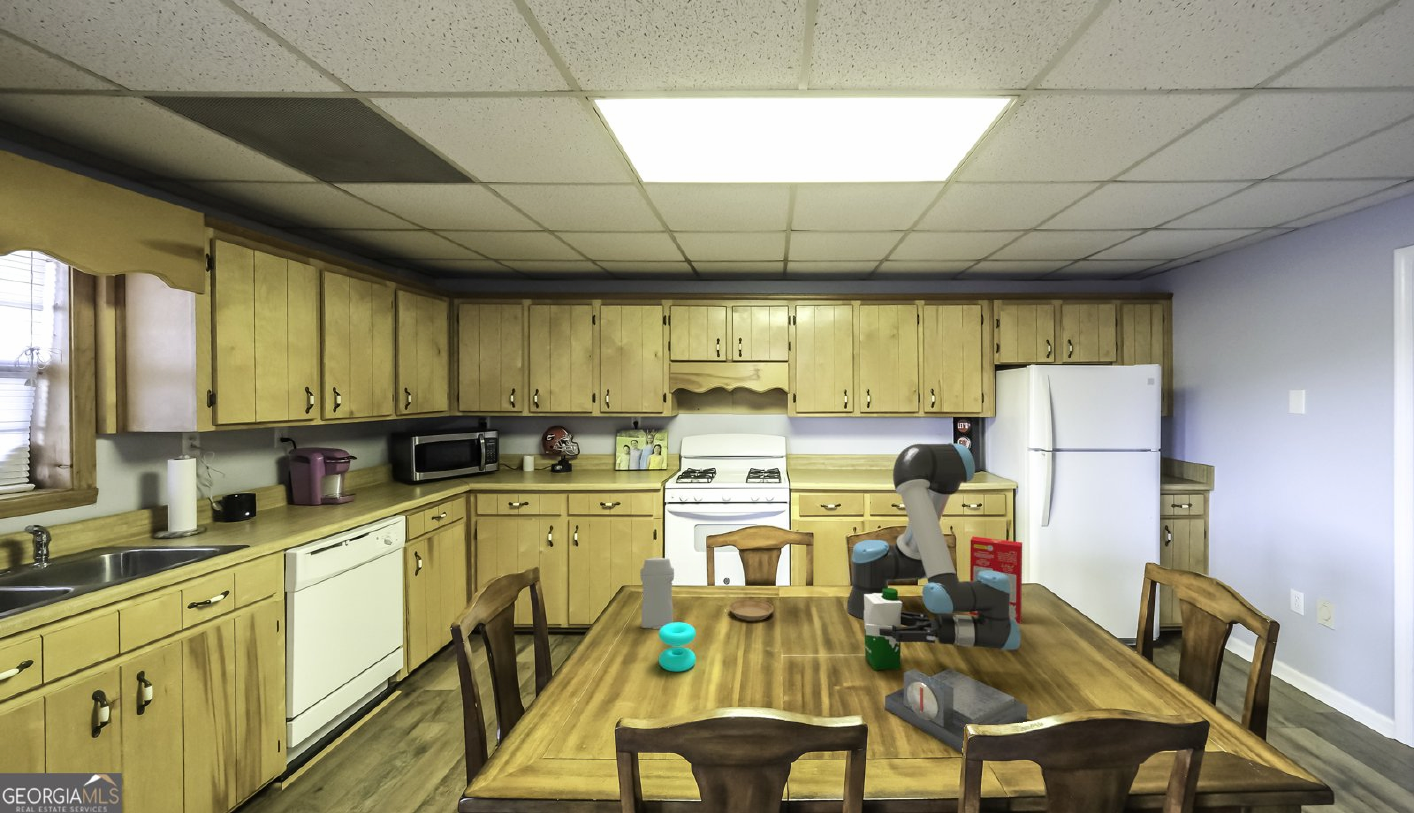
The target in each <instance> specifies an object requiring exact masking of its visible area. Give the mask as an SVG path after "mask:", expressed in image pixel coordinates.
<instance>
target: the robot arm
mask: <svg viewBox="0 0 1414 813" xmlns="http://www.w3.org/2000/svg"><path fill="white" fill-rule="evenodd" d="M975 473H976V466H975V459H974V456H973V454H972V453H971V451H970V449H969V448H968V447H967V446H965V445H964V444H961V443H952V442H949V443H915V444H911V445H909V446H907V447H906V448H904V449H903V450H902V451H901V452H900V453H899V454H898V455H897V458H896V460H895V462H894V466H893V470H892V480H893V486H894V488H895V489H894V490H895V491H896V494H898V495H900V496H901V499H902V502H903V505H904V510H905V512H906V514H907V519H908V522H907V525H906V528H905V531H904V533H902V534H899V535H898V536H897V538H896V541H895V543H894V544H889V543H888V542H887V541H885V540H882V539H881V540H880V539H868V540H867V539H866V540H862V541H859V542H857V543H856V544H855V545H854V546H853V548H852V556H851V561H852V562H851V563H852V564H851V565H852V568H851V569H852V570H851V571H852V573H851V577H852V579H851V580H852V581H851V582H852V585H851V590H850V593H849V596H848V599H847V602H846V611H847V612H848V614H850V615H852V616H853V617H856V618H859V619H863V622H865V607H864V594H873V593H882V589H883V588H889V582H890V581H913V580H916V581H917V580H918V581H919V580H922V579H926V580H927V583H925V584H924V585H923V587H922V592H921V594H922V602H923V604H924V606H925V608H926V610H928V611H929V612H930V613H932V614H937V615H936V616H935V617H936V618H935V619H933V618H930V617H928V614H927V613H925V612H923V613H919V612H918V613H917V612H911V611H904V610H901V627H896V626H894V625H893V626H887V625H875V624H866V635H872V636H883V637H892V638H894V639H896V641H897V642H901V643H929V644H930V643H931V644H936V639H937V642H938V643H939V644H941V645H950V646H953V645H954V644H955V645H956V646H963V648H967V647H974V648H975V647H977V648H986V649H993V650H995V649H996V650H999V651H1001V650H1005V651H1006V650H1009V651H1010V650H1011V651H1012V650H1017V649H1019V647H1020V645H1021V640H1022V639H1021V629H1020V625H1019V624H1018V623H1017V622H1016V621H1015V620H1013V619H1010V617H1009V605H1010V583H1009V578H1008V577H1007V576H1006V575H1005V574H1003V573H1000V572H997V571H989V570H985V571H981V572H979V573H978V577H977V581H970V580H968V581H962V580H961V581H960V579H959V576H958V574H957V572H956V568H955V566H954V562H953V560H952V557H951V553H950V551H949V547H948V543H947V542H946V538H945V535H944V533H943V529H942V527H941V524H940V521H941V519H942V516H943V514H944V512H945V509H946V507H947V504H948V501H949V499H950V496H952V495H955V494H957V492H958V491H959V488H960V486H961V485H962V483H964V484H965V483H968V482H970V481H972V480H973V479H974V477H975ZM975 611H977V614H978V616H976V615H966V614H965V615H963V614H959V613H970V612H975ZM955 613H958V614H955ZM952 614H954V615H952Z"/></svg>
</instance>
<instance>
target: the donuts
mask: <svg viewBox="0 0 1414 813" xmlns="http://www.w3.org/2000/svg"><path fill="white" fill-rule="evenodd" d="M696 634H697V633H696V629H695V627H694V626H692V625H691V624H689V623H686V622H676V621H675V622H673V623H669V624H667V625H664V626H663V627H662V628H661V629H659V632H658V637H659V640H660V641H661V642H662V643H663V644H666V645H668V646H671V647H669V648H666V649H664V650H663V651H662V652H661V653H660V654H659V657H658V663H659V665H660V666H661V667H662V668H663V669H664V670H666V671H670V672H679V673H680V672H684V671H687V670H689V669H691V668H693V666H694V665H695V664H696V660H697V659H696V655H695V652H693V651H692V650H691V649H690V648H688V647H684V646H686V645H688V644H690V643H692V642H693V641H694V639H695V638H696Z"/></svg>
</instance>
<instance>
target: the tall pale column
mask: <svg viewBox="0 0 1414 813" xmlns="http://www.w3.org/2000/svg"><path fill="white" fill-rule="evenodd" d="M639 573H640V575H639V576H640V578H639V579H640V581H641V583H642V584H641V586H642V599H643V600H642V603H641V628H642V629H648V630H649V629H650V630H651V629H653V630H660V629H661V628H662V627H663V626H664V625H667V624H669V623H674V604H673V600H672V596H673V589H672V588H673V581H674V579H675V568H673V567H672V564H671V560H670V558H665V557H653V558H647V559H644V564H643V567H642V568H641V569H640V571H639Z"/></svg>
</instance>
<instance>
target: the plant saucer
mask: <svg viewBox="0 0 1414 813" xmlns="http://www.w3.org/2000/svg"><path fill="white" fill-rule="evenodd" d="M728 608H729V610H730V612H731V613H732V614H733V615H734V616H735V617H736V618H737V619H740V620H742V621H747V622H748V621H749V622H757V621H762V620H765V619H766V618H768V617H769V616H770V615H771V614H772V613H773V611H774V606H773V605H771V603H769V602H765V601H762V600H757V599H741V600H736V601H732V602H731V603H730V605H728Z"/></svg>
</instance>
